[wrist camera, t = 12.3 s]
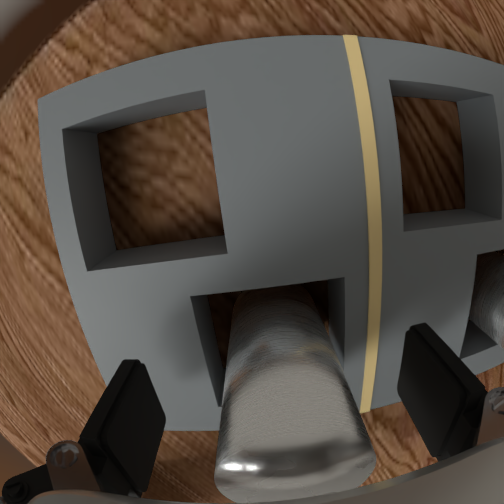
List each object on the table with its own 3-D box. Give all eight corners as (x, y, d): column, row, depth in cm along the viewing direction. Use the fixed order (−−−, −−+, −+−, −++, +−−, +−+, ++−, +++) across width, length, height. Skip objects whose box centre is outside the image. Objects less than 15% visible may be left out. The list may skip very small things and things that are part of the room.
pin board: (509, 86, 11) (543, 80, 8) (502, 329, 15) (527, 351, 12) (73, 107, 12) (36, 98, 9) (142, 393, 16) (127, 429, 13)
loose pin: (313, 272, 14) (388, 416, 5) (317, 344, 15) (364, 496, 6) (226, 283, 14) (195, 442, 5) (239, 354, 15) (230, 513, 6)
